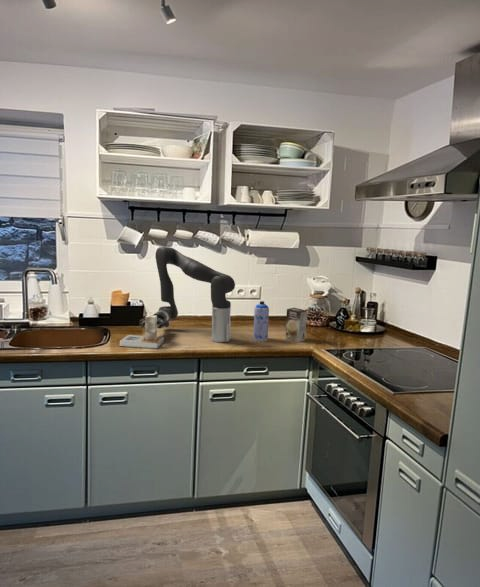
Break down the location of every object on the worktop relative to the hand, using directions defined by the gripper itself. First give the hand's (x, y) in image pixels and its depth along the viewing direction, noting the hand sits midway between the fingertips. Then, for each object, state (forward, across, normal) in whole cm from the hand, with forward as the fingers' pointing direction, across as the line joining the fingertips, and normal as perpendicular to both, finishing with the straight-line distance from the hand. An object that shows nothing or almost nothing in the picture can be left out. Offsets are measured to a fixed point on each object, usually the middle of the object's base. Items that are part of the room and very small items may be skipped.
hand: (150, 325), depth 221 cm
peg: (-1, 0, +10) cm, 10 cm away
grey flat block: (-1, -4, +10) cm, 11 cm away
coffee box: (-28, +70, +10) cm, 75 cm away
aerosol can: (-24, +52, +10) cm, 58 cm away
